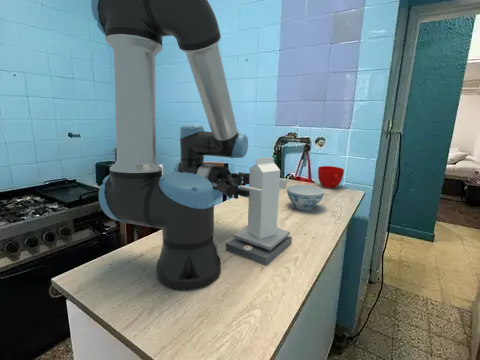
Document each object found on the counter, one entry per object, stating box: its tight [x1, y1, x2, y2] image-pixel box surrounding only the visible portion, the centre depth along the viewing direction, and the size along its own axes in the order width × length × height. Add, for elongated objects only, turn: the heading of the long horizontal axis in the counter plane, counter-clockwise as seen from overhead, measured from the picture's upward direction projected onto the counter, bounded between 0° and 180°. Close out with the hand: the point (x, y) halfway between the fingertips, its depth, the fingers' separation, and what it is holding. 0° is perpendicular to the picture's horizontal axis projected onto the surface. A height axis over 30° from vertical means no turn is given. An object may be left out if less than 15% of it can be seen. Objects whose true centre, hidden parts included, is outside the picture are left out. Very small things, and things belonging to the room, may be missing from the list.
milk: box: [247, 156, 281, 239], centre depth 74 cm, size 6×6×22 cm
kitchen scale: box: [225, 225, 293, 266], centre depth 77 cm, size 15×13×4 cm
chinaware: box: [286, 184, 326, 211], centre depth 110 cm, size 15×15×8 cm
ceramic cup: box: [317, 165, 345, 189], centre depth 140 cm, size 13×17×10 cm
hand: (274, 189), depth 72 cm, fingers open, 13 cm apart
